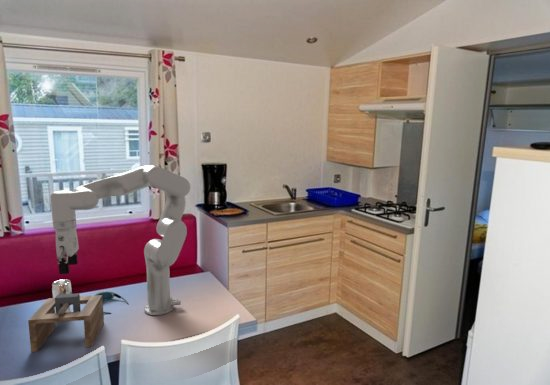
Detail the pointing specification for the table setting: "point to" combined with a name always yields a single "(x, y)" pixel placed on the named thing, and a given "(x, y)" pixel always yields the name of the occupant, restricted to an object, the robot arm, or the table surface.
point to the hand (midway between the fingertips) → (68, 268)
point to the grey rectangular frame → (68, 301)
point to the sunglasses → (109, 297)
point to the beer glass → (62, 289)
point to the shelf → (47, 318)
